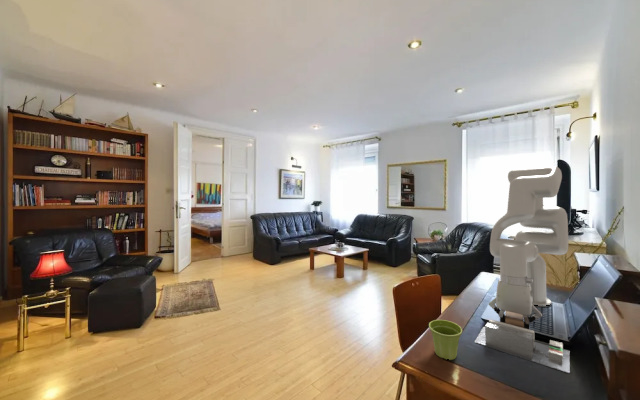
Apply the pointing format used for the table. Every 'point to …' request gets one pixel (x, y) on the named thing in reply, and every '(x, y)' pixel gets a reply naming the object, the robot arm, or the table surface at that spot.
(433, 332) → the plant pot
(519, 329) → the gauge pad
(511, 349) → the frame
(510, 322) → the walnut bar
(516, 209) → the robot arm
